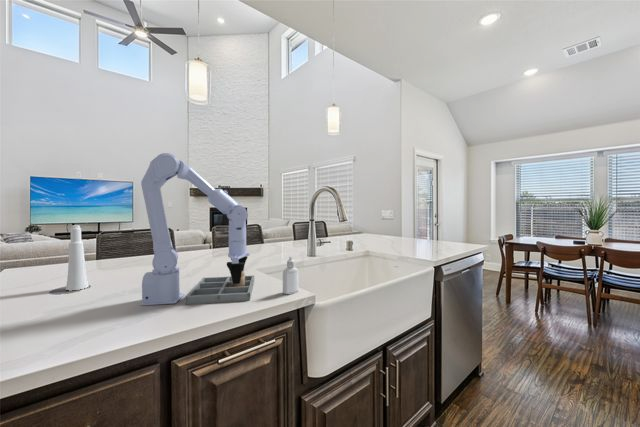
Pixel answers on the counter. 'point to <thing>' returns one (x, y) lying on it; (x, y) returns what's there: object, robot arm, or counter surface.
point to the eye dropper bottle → (290, 278)
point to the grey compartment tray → (220, 291)
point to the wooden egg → (242, 281)
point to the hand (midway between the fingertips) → (237, 280)
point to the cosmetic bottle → (76, 262)
